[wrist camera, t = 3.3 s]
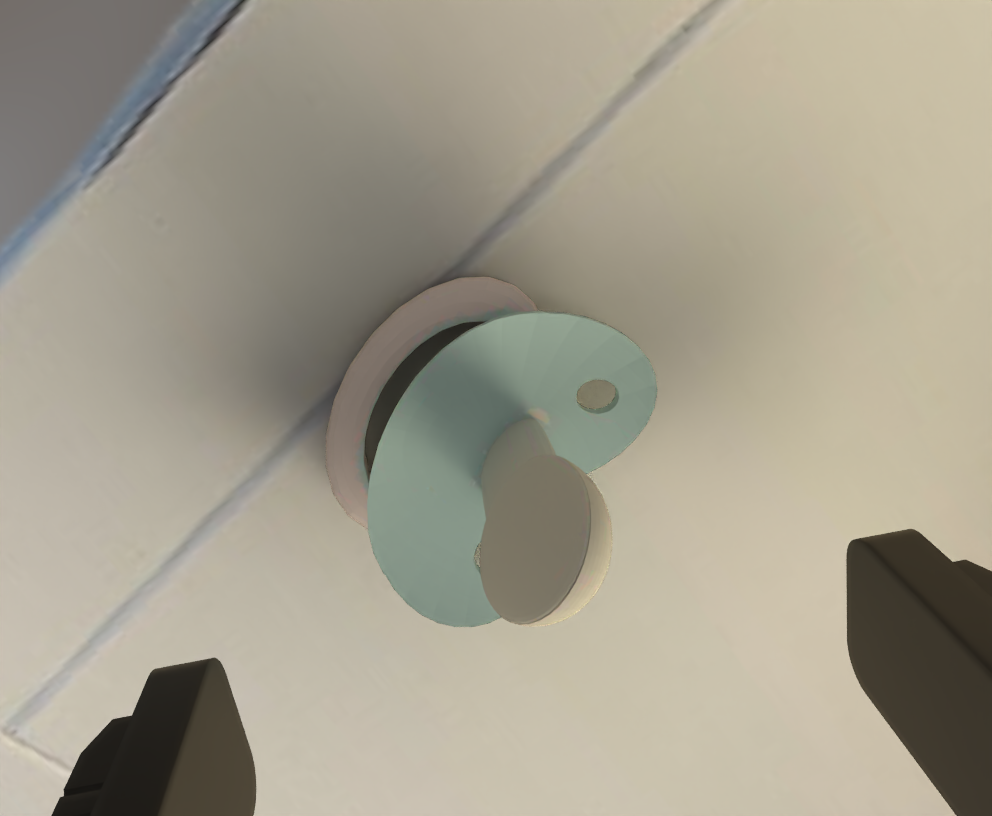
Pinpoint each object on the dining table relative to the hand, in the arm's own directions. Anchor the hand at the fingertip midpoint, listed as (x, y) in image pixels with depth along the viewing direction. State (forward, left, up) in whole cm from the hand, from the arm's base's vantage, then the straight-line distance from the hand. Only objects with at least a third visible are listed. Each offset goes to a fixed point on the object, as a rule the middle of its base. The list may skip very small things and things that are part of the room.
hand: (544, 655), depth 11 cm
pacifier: (0, 0, -10) cm, 10 cm away
